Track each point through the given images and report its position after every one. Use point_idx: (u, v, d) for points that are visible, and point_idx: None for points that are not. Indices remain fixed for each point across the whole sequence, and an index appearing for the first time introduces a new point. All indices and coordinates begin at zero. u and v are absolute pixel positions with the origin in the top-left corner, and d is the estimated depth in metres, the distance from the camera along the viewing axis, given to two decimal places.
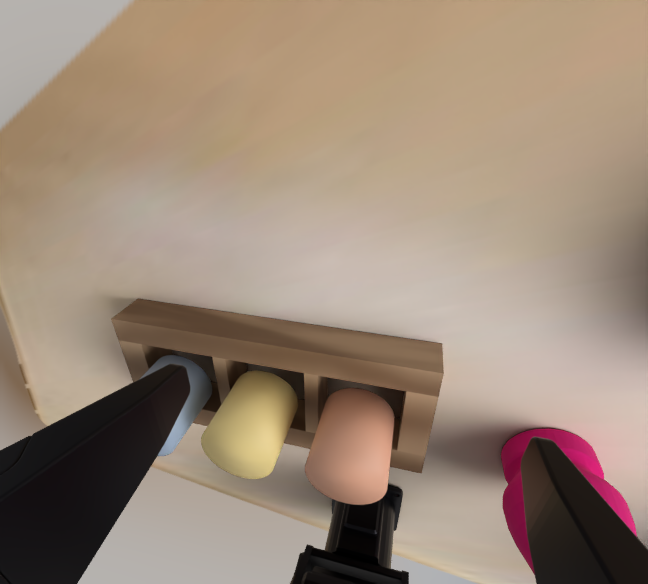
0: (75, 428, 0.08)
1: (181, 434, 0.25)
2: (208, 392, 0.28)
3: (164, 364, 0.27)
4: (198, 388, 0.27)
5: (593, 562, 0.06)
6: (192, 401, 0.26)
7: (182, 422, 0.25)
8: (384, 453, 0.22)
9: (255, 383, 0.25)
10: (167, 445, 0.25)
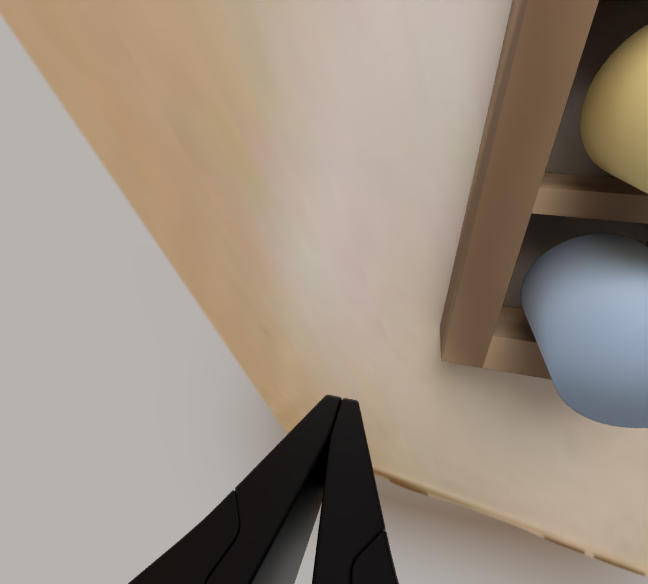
0: (278, 480, 0.07)
1: None
2: (624, 239, 0.14)
3: (526, 301, 0.15)
4: (596, 248, 0.13)
5: None
6: (614, 259, 0.12)
7: None
8: None
9: (598, 104, 0.11)
10: None
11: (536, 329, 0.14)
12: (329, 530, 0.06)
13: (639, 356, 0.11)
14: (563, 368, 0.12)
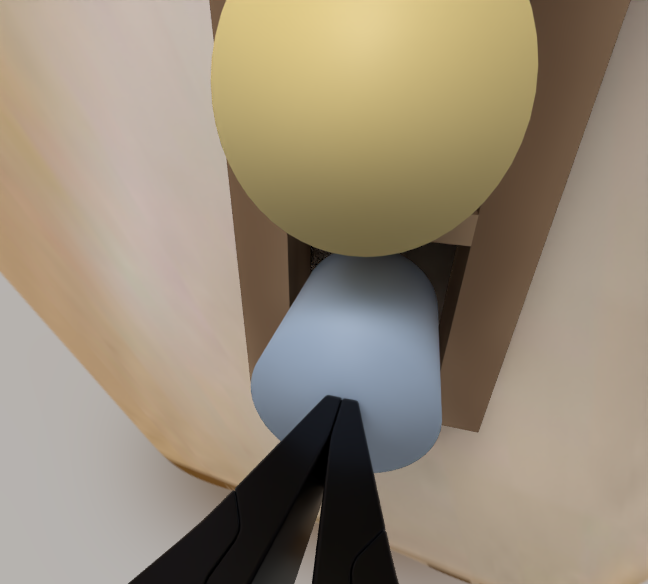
0: (278, 480, 0.07)
1: (372, 319, 0.09)
2: None
3: None
4: (337, 265, 0.12)
5: None
6: (336, 279, 0.11)
7: (339, 306, 0.09)
8: None
9: None
10: (382, 365, 0.08)
11: None
12: (329, 530, 0.06)
13: None
14: (263, 405, 0.10)
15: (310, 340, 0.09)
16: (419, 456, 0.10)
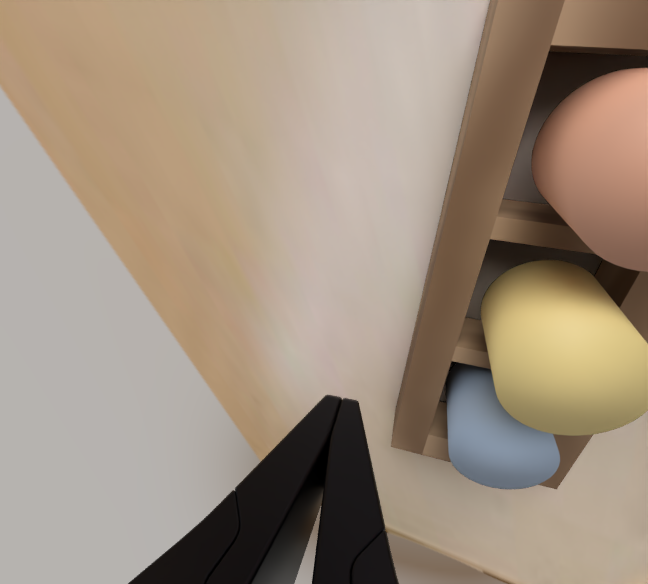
0: (278, 480, 0.07)
1: None
2: None
3: (446, 393, 0.22)
4: (486, 368, 0.20)
5: None
6: (492, 382, 0.19)
7: None
8: (645, 81, 0.09)
9: (485, 315, 0.16)
10: (533, 439, 0.17)
11: (447, 417, 0.21)
12: (329, 530, 0.06)
13: (496, 449, 0.18)
14: (454, 451, 0.19)
15: (497, 424, 0.17)
16: (540, 482, 0.18)
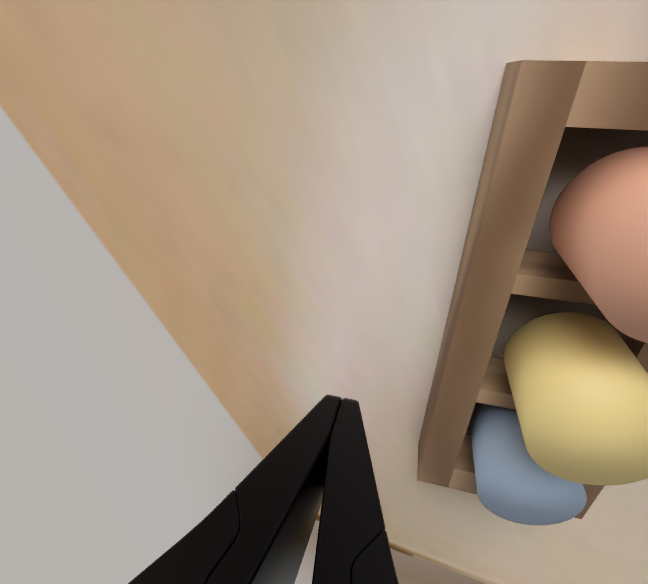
0: (278, 480, 0.07)
1: None
2: None
3: (470, 429, 0.23)
4: None
5: None
6: (516, 421, 0.20)
7: None
8: None
9: (509, 365, 0.17)
10: (560, 479, 0.18)
11: (473, 455, 0.21)
12: (329, 530, 0.06)
13: (523, 489, 0.19)
14: (483, 491, 0.20)
15: (524, 467, 0.18)
16: (567, 518, 0.19)
